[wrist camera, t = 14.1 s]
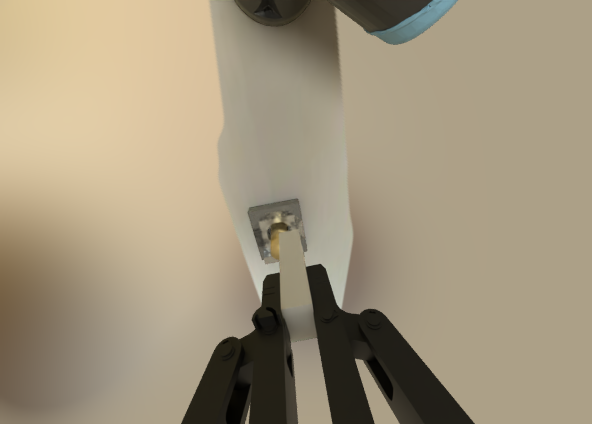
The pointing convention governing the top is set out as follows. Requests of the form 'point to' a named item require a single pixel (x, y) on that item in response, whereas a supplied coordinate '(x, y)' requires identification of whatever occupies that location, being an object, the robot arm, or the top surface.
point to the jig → (274, 214)
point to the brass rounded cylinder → (276, 237)
